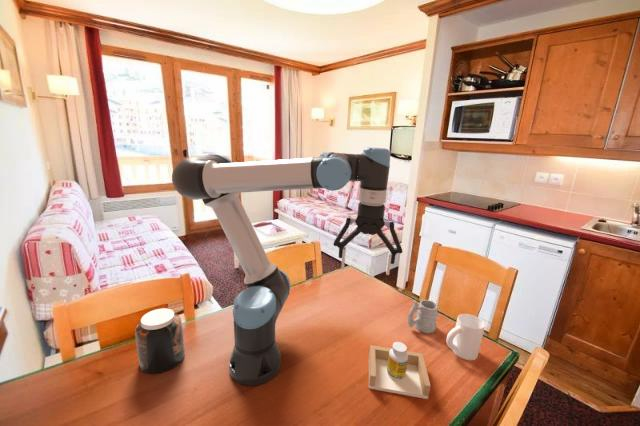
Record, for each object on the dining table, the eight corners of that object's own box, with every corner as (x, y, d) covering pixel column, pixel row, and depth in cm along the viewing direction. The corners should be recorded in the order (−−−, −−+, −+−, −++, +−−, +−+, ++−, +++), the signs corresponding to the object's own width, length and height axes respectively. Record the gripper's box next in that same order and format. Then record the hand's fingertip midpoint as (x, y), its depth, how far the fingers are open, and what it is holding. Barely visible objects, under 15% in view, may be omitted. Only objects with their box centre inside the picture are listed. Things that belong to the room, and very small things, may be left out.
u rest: (368, 388, 80) (370, 375, 78) (368, 356, 91) (370, 345, 90) (428, 399, 77) (430, 386, 76) (420, 365, 89) (422, 353, 87)
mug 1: (440, 332, 104) (445, 304, 101) (411, 337, 101) (416, 307, 98) (427, 319, 111) (432, 292, 108) (400, 323, 108) (404, 295, 105)
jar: (150, 382, 78) (144, 336, 74) (133, 360, 85) (126, 317, 81) (191, 357, 87) (188, 315, 83) (172, 339, 94) (168, 300, 90)
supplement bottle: (395, 363, 87) (399, 337, 85) (409, 376, 83) (413, 348, 81) (382, 371, 84) (386, 344, 82) (396, 384, 80) (400, 356, 78)
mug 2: (436, 345, 97) (441, 315, 94) (464, 341, 100) (471, 311, 97) (452, 364, 90) (459, 332, 87) (483, 358, 93) (490, 327, 90)
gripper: (326, 202, 79) (322, 270, 85) (419, 210, 76) (408, 281, 81) (330, 196, 86) (326, 260, 92) (414, 203, 83) (405, 269, 88)
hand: (364, 270), depth 87 cm, fingers open, 13 cm apart
